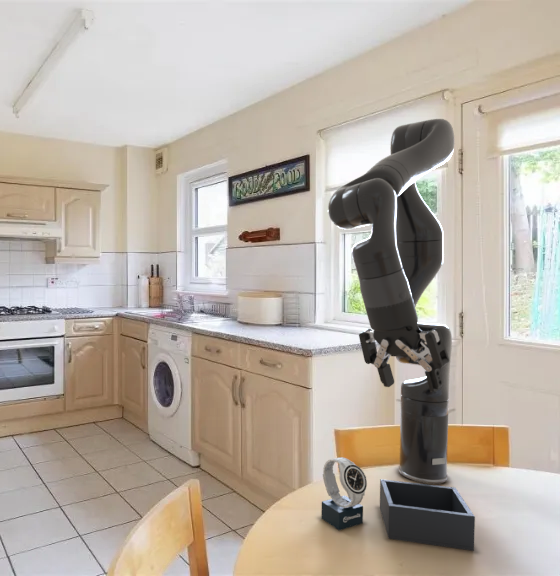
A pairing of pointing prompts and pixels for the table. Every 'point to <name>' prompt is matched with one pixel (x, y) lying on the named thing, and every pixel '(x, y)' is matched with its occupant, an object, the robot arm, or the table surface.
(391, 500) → the box
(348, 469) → the watch
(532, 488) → the table surface
